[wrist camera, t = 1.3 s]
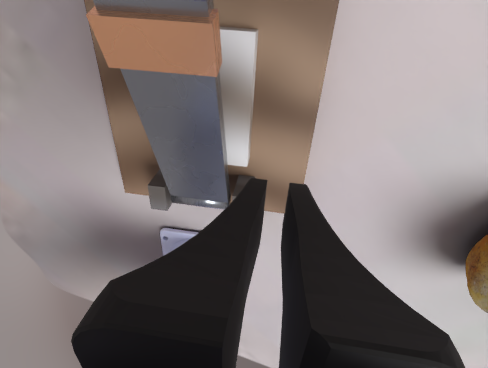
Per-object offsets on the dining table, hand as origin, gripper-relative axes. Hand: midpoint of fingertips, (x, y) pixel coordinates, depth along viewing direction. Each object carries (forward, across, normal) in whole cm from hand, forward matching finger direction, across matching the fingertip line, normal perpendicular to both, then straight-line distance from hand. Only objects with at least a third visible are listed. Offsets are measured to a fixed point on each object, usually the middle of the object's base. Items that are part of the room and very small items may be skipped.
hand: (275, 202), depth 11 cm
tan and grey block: (+5, +5, 0) cm, 7 cm away
